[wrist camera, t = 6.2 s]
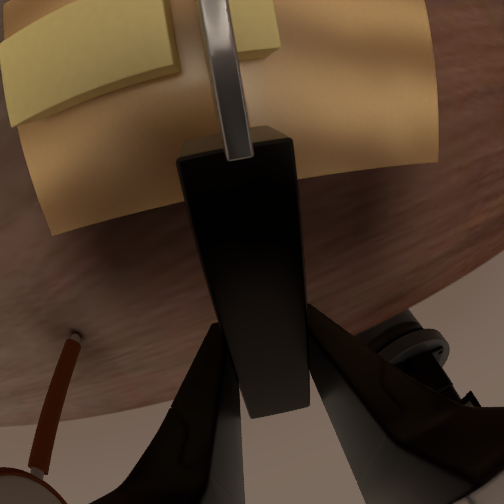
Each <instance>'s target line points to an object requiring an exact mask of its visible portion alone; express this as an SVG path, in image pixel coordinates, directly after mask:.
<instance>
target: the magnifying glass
mask: <svg viewBox="0 0 504 504" xmlns="http://www.w3.org/2000/svg"><path fill="white" fill-rule="evenodd" d="M80 340H81V338H80V337H79V335H78V334H72V336H71V338H70V339H68V340H66V343H65V345H64V348H63V350H62V353H61V355H60V358H59V361H58V363H57V366H56V369H55V372H54V374H53V377H52V380H51V383H50V386H49V389H48V392H47V395H46V398H45V402H44V405H43V408H42V411H41V415H40V418H39V422H38V425H37V429H36V433H35V437H34V441H33V445H32V449H31V453H30V458H29V463H28V467H29V468H31V473H28V472H25V471H23V470H19V469H15V468H6V467H0V504H67V503H66V502H65V500H64V499H63V498H62V497H61V496H60V495H59V494H58V493H57V492H56V491H55V490H54V489H53V488H52V487H51V486H50V485H49V484H47V483H46V482H45V481H43V476H44V474H45V475H48V471H49V465H50V460H51V454H52V449H53V445H54V440H55V436H56V431H57V427H58V423H59V419H60V415H61V411H62V408H63V404H64V400H65V397H66V393H67V390H68V386H69V383H70V380H71V376H72V373H73V370H74V367H75V364H76V361H77V358H78V355H79V352H80V349H81V346H80V344H79V343H80Z"/></svg>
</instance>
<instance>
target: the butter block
mask: <svg viewBox="0 0 504 504" xmlns="http://www.w3.org/2000/svg"><path fill="white" fill-rule="evenodd" d="M0 63H1V72H2V80H3V87H4V93H5V99H6V105H7V110H8V115H9V120H10V124H11V127H16V126H20V125H23V124H27V123H30V122H34V121H38V120H42V119H45V118H47V117H50V116H52V115H54V114H56V113H58V112H61V111H63V110H65V109H67V108H70V107H72V106H75V105H77V104H80V103H82V102H85V101H87V100H90V99H92V98H95V97H98V96H100V95H103V94H106V93H109V92H112V91H115V90H117V89H120V88H124V87H127V86H130V85H133V84H136V83H140V82H143V81H147V80H150V79H154V78H157V77H161V76H165V75H169V74H173V73H177V72H180V71H181V66H180V61H179V55H178V50H177V44H176V38H175V33H174V27H173V21H172V15H171V9H170V2H169V0H77V1H74V2H72V3H70V4H68V5H66V6H64V7H62V8H59V9H57V10H55V11H54V12H52V13H50V14H48V15H46V16H44V17H42V18H40V19H39V20H37V21H35V22H33V23H31V24H30V25H28V26H26V27H25V28H23V29H21V30H20V31H18V32H17V33H15V34H13V35H12V36H10V37H9V38H7V39H6V40H4V41H3V42H1V43H0Z"/></svg>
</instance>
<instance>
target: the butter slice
mask: <svg viewBox="0 0 504 504" xmlns="http://www.w3.org/2000/svg"><path fill="white" fill-rule="evenodd" d="M228 2H229V7H230V13H231V18H232V24H233V30H234V35H235V41H236V47H237V53H238V58H239V61H242V60H249V59H258V58H265V57H267V56H269V55H270V54H272V53H273V52H275V51H277V50H278V49H280V48H281V41H280V35H279V30H278V24H277V19H276V13H275V8H274V3H273V0H228Z"/></svg>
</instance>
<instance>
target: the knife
mask: <svg viewBox="0 0 504 504" xmlns="http://www.w3.org/2000/svg"><path fill="white" fill-rule="evenodd" d="M195 1H196V7H197V13H198V18H199V24H200V30H201V36H202V42H203V47H204V53H205V59H206V64H207V70H208V76H209V81H210V87H211V92H212V98H213V103H214V109H215V114H216V120H217V125H218V131H219V133H218V134H213V135H208V136H203V137H198V138H194V139H189V140H186V141H185V142H184V144H183V146H182V148H181V150H180V152H179V154H178V156H177V158H176V162H175V163H176V168H177V172H178V176H179V180H180V185H181V189H182V193H183V197H184V201H185V205H186V209H187V213H188V216H189V220H190V224H191V228H192V232H193V236H194V239H195V243H196V247H197V250H198V254H199V258H200V261H201V265H202V268H203V272H204V275H205V279H206V282H207V286H208V289H209V293H210V296H211V300H212V303H213V306H214V310H215V313H216V316H217V319H218V323H219V326H220V329H221V332H222V336H223V339H224V342H225V345H226V347H227V349H228V352H229V355H230V359H231V362H232V365H233V368H234V371H235V374H236V377H237V380H238V383H239V388H240V391H241V393H242V396H243V399H244V402H245V405H246V408H247V410H248V413H249V416H250V418H252V419H254V418H259V417H264V416H269V415H274V414H279V413H284V412H288V411H293V410H297V409H301V408H305V407H308V406H310V382H309V381H310V375H309V358H308V313H307V293H306V276H305V261H304V246H303V233H302V221H301V210H300V199H299V188H298V178H297V169H296V160H295V151H294V142H293V139H292V138H291V137H289V136H287V135H285V134H283V133H282V132H280V131H278V130H276V129H274V128H272V127H270V126H267V125H265V126H258V127H252V128H250V125H249V119H248V112H247V106H246V100H245V94H244V88H243V82H242V76H241V70H240V64H239V58H238V53H237V47H236V41H235V35H234V30H233V24H232V18H231V13H230V7H229V2H228V0H195Z"/></svg>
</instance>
